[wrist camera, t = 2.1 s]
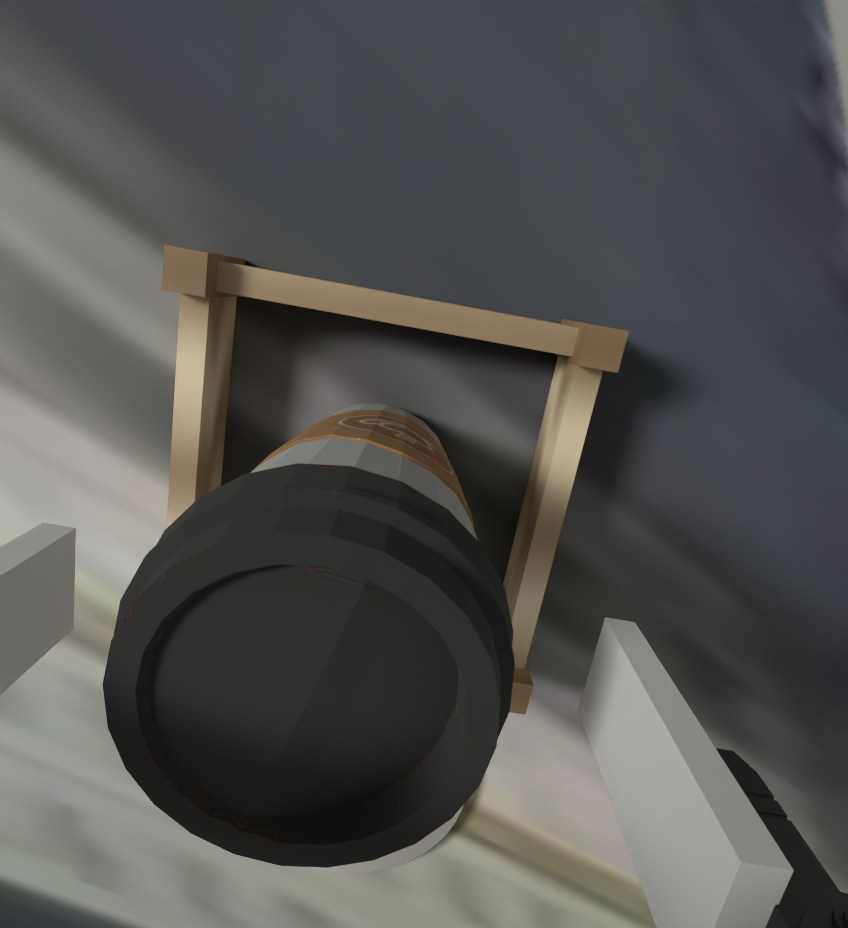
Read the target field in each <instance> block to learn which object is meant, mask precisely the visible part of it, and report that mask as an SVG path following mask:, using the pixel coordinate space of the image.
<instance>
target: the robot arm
mask: <svg viewBox="0 0 848 928" xmlns="http://www.w3.org/2000/svg"><path fill="white" fill-rule="evenodd" d="M75 534H76V528H71V527H65V526H59V525H53V524H47V523H43V524H41V525H39V526H37V527H36V528H34V529H32V530H30V531H28V532H27V533H25V534H23V535H21V536H20V537H18V538H16V539H14V540H13V541H11V542H9V543H7V544H5V545H4V546H2V547H0V694H2V693H3V692H4V691H5V690H6V689H7V688H8V687H9V686H10V685H11V684H13V683H14V682H15V681H16V680H17V679H18V678H19V677H20V676H21V675H22V674H24V673H25V672H26V671H27V670H28V669H29V668H30V667H31V666H32V665H34V664H35V663H36V662H37V661H38V660H39V659H40V658H41V657H42V656H43V655H45V654H46V653H47V652H48V651H49V650H50V649H51V648H52V647H53V646H54V645H56V644H57V643H58V642H59V641H60V640H61V639H62V638H63V637H64V636H65V635H67V634H68V633H69V632H70V631H71V630H72V629H73V624H74V579H75ZM578 712H579V714H580V717H581V720H582V723H583V725H584V728H585V731H586V734H587V736H588V739H589V742H590V745H591V747H592V750H593V753H594V756H595V759H596V761H597V764H598V767H599V770H600V772H601V775H602V778H603V781H604V783H605V786H606V789H607V792H608V794H609V797H610V800H611V803H612V805H613V808H614V811H615V814H616V817H617V819H618V822H619V825H620V828H621V830H622V833H623V836H624V839H625V841H626V844H627V847H628V850H629V852H630V855H631V858H632V861H633V863H634V866H635V869H636V872H637V875H638V877H639V880H640V883H641V886H642V888H643V891H644V894H645V897H646V899H647V902H648V905H649V908H650V910H651V913H652V916H653V919H654V922H655V924H656V927H657V928H848V894H847V893H843V892H840V891H839V890H838V888H837V887H836V885H835V884H834V882H833V881H832V879H831V878H830V877H829V875H828V874H827V872H826V871H825V869H824V868H823V867H822V865H821V864H820V862H819V861H818V859H817V858H816V856H815V855H814V854H813V852H812V851H811V849H810V848H809V846H808V845H807V844H806V842H805V841H804V839H803V838H802V836H801V835H800V833H799V832H798V831H797V829H796V828H795V826H794V825H793V823H792V822H791V821H788V820H787V815H786V813H785V812H784V810H783V809H782V808H781V806H780V805H779V803H778V802H777V801H774V799H773V797H774V796H773V795H772V793H771V792H770V790H769V789H768V787H767V786H766V785H765V783H764V782H763V780H762V779H761V777H760V776H759V775H758V773H757V772H756V771H755V770H754V769H752V768H751V767H750V766H749V765H748V764H747V763H746V762H745V761H744V760H743V759H741V758H740V757H739V756H738V755H737V754H736V753H735V752H734V751H729V750H723V749H717V748H715V747H714V745H713V743H712V742H711V740H710V739H709V737H708V736H707V734H706V732H705V731H704V729H703V728H702V726H701V725H700V723H699V722H698V720H697V718H696V717H695V715H694V714H693V712H692V711H691V709H690V707H689V706H688V704H687V703H686V701H685V700H684V698H683V697H682V695H681V693H680V692H679V690H678V689H677V687H676V686H675V684H674V683H673V681H672V679H671V678H670V676H669V675H668V673H667V672H666V670H665V668H664V667H663V665H662V664H661V662H660V661H659V659H658V658H657V656H656V654H655V653H654V651H653V650H652V648H651V647H650V645H649V643H648V642H647V640H646V639H645V637H644V636H643V634H642V633H641V631H640V629H639V628H638V626H637V625H636V623H635V622H630V621H624V620H618V619H612V618H606V617H605V619H604V623H603V626H602V630H601V633H600V636H599V640H598V643H597V647H596V650H595V654H594V657H593V660H592V664H591V667H590V671H589V674H588V677H587V681H586V684H585V688H584V691H583V695H582V698H581V701H580V705H579V708H578Z"/></svg>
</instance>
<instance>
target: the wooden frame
mask: <svg viewBox="0 0 848 928" xmlns="http://www.w3.org/2000/svg"><path fill="white" fill-rule="evenodd" d="M162 289H163V290H168V291H173V292H179V293H180V310H179V326H178V343H177V360H176V377H175V394H174V410H173V427H172V444H171V461H170V478H169V494H168V511H167V528H168V527H169V526H170V525H171V524H172V523H173V522H174V521H175V520H176V519H177V518H178V517H179V516H180V515H181V514H183V513H184V512H185V511H186V510H187V509H188V508H189V507H190V506H191V505H192V504H193V503H194V502H195V501H196V500H197V499H198V498H199V497H201V496H203V495H205V494H207V493H209V492H211V491H213V490H215V489H217V488H219V487H221V477H222V466H223V454H224V442H225V431H226V419H227V407H228V396H229V384H230V372H231V361H232V349H233V337H234V326H235V314H236V302H237V297H242V296H245V297H251V298H256V299H261V300H267V301H272V302H278V303H283V304H289V305H294V306H300V307H305V308H310V309H316V310H321V311H327V312H332V313H338V314H343V315H349V316H354V317H359V318H365V319H370V320H376V321H381V322H387V323H392V324H397V325H403V326H408V327H414V328H419V329H425V330H430V331H436V332H441V333H446V334H452V335H457V336H463V337H468V338H474V339H479V340H485V341H490V342H495V343H501V344H506V345H512V346H517V347H523V348H528V349H533V350H539V351H544V352H550V353H554V354H555V355H557V356H558V358H557V362H556V367H555V371H554V375H553V379H552V383H551V387H550V392H549V396H548V400H547V404H546V408H545V412H544V416H543V421H542V425H541V429H540V433H539V437H538V441H537V446H536V450H535V454H534V458H533V462H532V466H531V471H530V475H529V479H528V483H527V487H526V491H525V496H524V500H523V504H522V508H521V512H520V516H519V520H518V525H517V529H516V533H515V537H514V541H513V545H512V550H511V554H510V558H509V562H508V566H507V570H506V575H505V579H504V583H503V586H504V587H505V591H506V596H507V601H508V607H509V612H510V617H511V622H512V627H513V632H514V633H513V642H512V648H513V653H514V660H515V668H514V678H513V687H512V696H511V705H510V711H509V712H513V713H519V714H526V710H527V706H528V703H529V699H530V695H531V691H532V688H533V683H532V679H531V675H530V672H529V668H528V664H527V657H528V653H529V650H530V646H531V642H532V638H533V634H534V631H535V627H536V623H537V619H538V615H539V612H540V608H541V604H542V600H543V596H544V593H545V589H546V585H547V581H548V577H549V574H550V570H551V566H552V562H553V558H554V555H555V551H556V547H557V543H558V540H559V536H560V532H561V528H562V524H563V521H564V517H565V513H566V509H567V505H568V502H569V498H570V494H571V490H572V486H573V483H574V479H575V475H576V471H577V467H578V464H579V460H580V456H581V452H582V448H583V445H584V441H585V437H586V433H587V429H588V426H589V422H590V418H591V414H592V411H593V407H594V403H595V399H596V395H597V392H598V388H599V384H600V380H601V376H602V373H603V370H605V371H610V372H616V373H618V370H619V367H620V363H621V359H622V356H623V352H624V348H625V344H626V341H627V337H628V333H629V331H625V330H620V329H614V328H609V327H604V326H598V325H593V324H588V323H582V322H577V321H572V320H566V319H562V320H561V324H559V323H554V322H548V321H543V320H538V319H532V318H527V317H521V316H516V315H511V314H505V313H500V312H495V311H489V310H484V309H478V308H473V307H468V306H462V305H457V304H452V303H446V302H441V301H435V300H430V299H425V298H419V297H414V296H409V295H403V294H398V293H392V292H387V291H382V290H376V289H371V288H366V287H360V286H355V285H349V284H344V283H339V282H333V281H328V280H323V279H317V278H312V277H306V276H301V275H296V274H290V273H285V272H280V271H274V270H269V269H263V268H258V267H253V266H247V265H245V260H244V259H239V258H234V257H228V256H223V255H217V254H212V253H207V252H201V251H196V250H190V249H185V248H180V247H174V246H169V245H164V262H163V281H162ZM167 528H166V529H167Z"/></svg>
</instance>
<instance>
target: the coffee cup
mask: <svg viewBox="0 0 848 928" xmlns="http://www.w3.org/2000/svg"><path fill="white" fill-rule="evenodd" d="M513 633H514V632H513V627H512V622H511V617H510V612H509V607H508V601H507V596H506V591H505V587H504V586H503V584H502V582H501V580H500V578H499V576H498V574H497V572H496V570H495V568H494V566H493V565H492V563H491V561H490V559H489V557H488V555H487V553H486V551H485V549H484V547H483V546H482V545H481V544H480V543H479V542H478V540H477V537H476V533H475V528H474V523H473V518H472V515H471V513H470V510H469V507H468V505H467V502H466V499H465V497H464V494H463V492H462V489H461V486H460V484H459V481H458V479H457V476H456V473H455V471H454V469H453V467H452V465H451V463H450V461H449V459H448V457H447V454H446V452H445V450H444V448H443V447H442V445H441V443H440V441H439V439H438V437H437V436H436V434H435V433H434V432H433V431H432V430H431V429H430V428H429V427H428V426H427V425H426V424H425V423H424V422H423V421H422V420H420V419H419V418H417V417H415V416H414V415H412V414H411V413H409V412H407V411H406V410H403V409H399V408H396V407H393V406H390V405H387V404H374V403H363V404H359V405H354V406H349V407H345V408H343V409H341V410H339V411H337V412H336V413H334V414H332V415H330V416H328V417H326V418H325V419H324V420H322V421H320V422H318V423H316V424H314V425H312V426H311V427H309V428H307V429H306V430H304V431H303V432H301V433H300V434H298V435H297V436H296V437H294V438H293V439H291V440H290V441H288V442H287V443H285V444H284V445H283V446H281V447H280V448H278V449H277V450H275V451H274V452H273V453H271V454H270V455H269V456H268V457H266V458H265V459H264V460H263V461H262V462H261V463H260V464H259V465H258V466H257V467H256V468H255V469H254V470H253V471H251V472H250V473H248V474H244V475H242V476H240V477H238V478H236V479H234V480H232V481H230V482H228V483H227V484H225V485H223V486H221V487H219V488H217V489H215V490H213V491H211V492H209V493H207V494H205V495H203V496H201V497H199V498H198V499H197V500H196V501H195V502H194V503H193V504H192V505H191V506H190V507H189V508H188V509H187V510H186V511H185V512H184V513H183V514H181V515H180V516H179V517H178V518H177V519H176V520H175V521H174V522H173V523H172V524H171V525H170V526H169V527H168V528H167V529H166V530H165V531H164V533H163V534H162V536H161V538H160V540H159V541H158V543H157V545H156V546H155V547H154V548H153V549H152V550H151V551H149V553H148V554H147V555H146V556H145V558H144V559H143V561H142V563H141V565H140V566H139V568H138V570H137V572H136V574H135V575H134V577H133V579H132V581H131V583H130V584H129V586H128V588H127V590H126V591H125V593H124V595H123V597H122V599H121V601H120V606H119V611H118V616H117V621H116V626H115V631H114V636H113V639H112V640H111V645H110V650H109V655H108V660H107V665H106V670H105V676H104V681H103V690H104V698H105V707H106V715H107V723H108V729H109V731H110V733H111V736H112V738H113V740H114V743H115V745H116V747H117V750H118V752H119V754H120V756H121V759H122V761H123V763H124V766H125V768H126V770H127V771H128V772H129V773H130V775H131V776H132V777H133V778H134V780H135V781H136V782H137V783H138V785H139V786H140V787H141V788H142V790H143V791H144V792H145V793H146V795H147V796H148V797H149V798H150V800H151V801H152V802H153V803H154V805H156V806H157V807H158V808H159V809H161V810H162V811H163V812H165V813H166V814H167V815H168V816H170V817H171V818H172V819H174V820H175V821H176V822H177V823H179V824H180V825H181V826H183V827H184V828H185V829H186V830H188V831H189V832H190V833H192V834H194V835H196V836H198V837H200V838H202V839H204V840H206V841H208V842H210V843H212V844H214V845H217V846H219V847H221V848H223V849H225V850H227V851H229V852H231V853H233V854H236V855H240V856H244V857H248V858H252V859H256V860H260V861H264V862H268V863H272V864H276V865H281V866H302V867H323V868H329V867H335V866H341V865H348V864H354V863H360V862H367V861H373V860H376V859H378V858H381V857H383V856H386V855H389V854H391V853H394V852H396V851H399V850H401V849H404V848H406V847H409V846H412V845H414V844H416V843H418V842H419V841H420V840H422V839H423V838H425V837H426V836H428V835H429V834H430V833H432V832H433V831H435V830H436V829H438V828H439V827H440V826H442V825H443V824H445V823H446V822H448V821H449V820H450V819H452V818H453V816H454V815H455V814H456V813H457V812H458V811H459V809H460V808H461V807H462V806H463V805H464V803H465V802H466V801H467V800H468V799H469V797H470V796H471V795H472V794H473V793H474V791H475V790H476V789H477V788H478V787H479V785H480V783H481V781H482V778H483V776H484V774H485V771H486V769H487V767H488V765H489V762H490V760H491V758H492V755H493V753H494V751H495V748H496V744H497V739H498V736H499V734H500V732H501V729H502V727H503V725H504V723H505V720H506V718H507V716H508V713H509V711H510V705H511V696H512V687H513V678H514V668H515V660H514V653H513V648H512V642H513Z"/></svg>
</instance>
